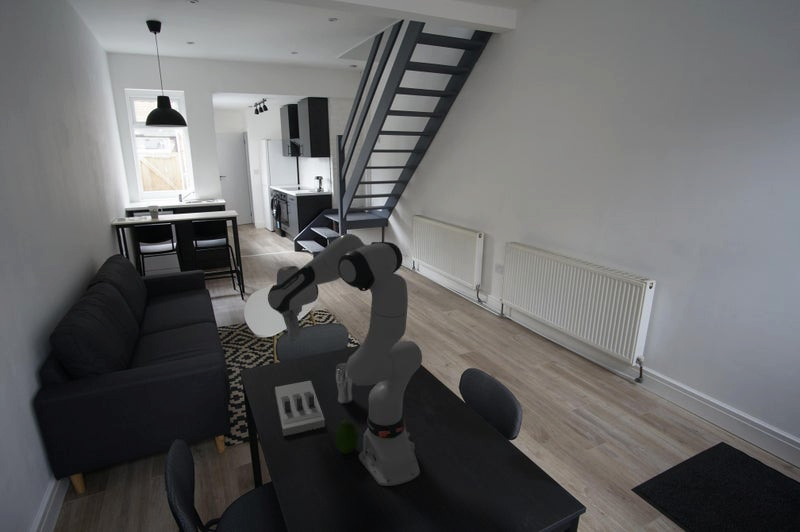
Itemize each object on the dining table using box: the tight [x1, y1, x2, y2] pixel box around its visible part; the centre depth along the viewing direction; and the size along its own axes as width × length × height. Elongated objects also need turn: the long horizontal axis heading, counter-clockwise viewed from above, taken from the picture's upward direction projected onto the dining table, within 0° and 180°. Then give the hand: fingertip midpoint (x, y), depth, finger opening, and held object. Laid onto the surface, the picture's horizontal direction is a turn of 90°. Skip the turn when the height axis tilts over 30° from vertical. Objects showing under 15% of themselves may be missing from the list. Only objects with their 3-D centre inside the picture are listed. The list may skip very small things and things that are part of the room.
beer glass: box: [335, 362, 354, 404], centre depth 172 cm, size 7×7×15 cm
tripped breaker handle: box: [296, 396, 303, 409], centre depth 162 cm, size 2×2×4 cm
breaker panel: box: [274, 380, 326, 437], centre depth 166 cm, size 30×15×8 cm, turn 21°
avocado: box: [335, 419, 360, 455], centre depth 142 cm, size 8×8×12 cm
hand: (292, 340), depth 166 cm, fingers closed
